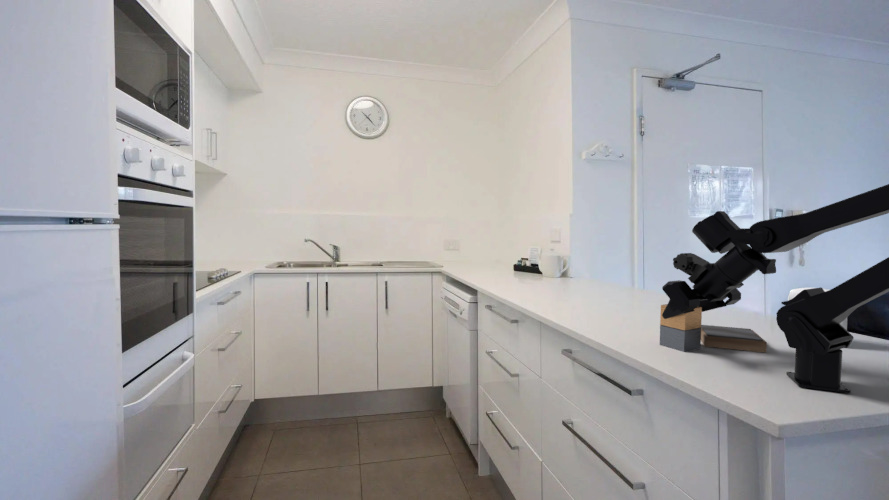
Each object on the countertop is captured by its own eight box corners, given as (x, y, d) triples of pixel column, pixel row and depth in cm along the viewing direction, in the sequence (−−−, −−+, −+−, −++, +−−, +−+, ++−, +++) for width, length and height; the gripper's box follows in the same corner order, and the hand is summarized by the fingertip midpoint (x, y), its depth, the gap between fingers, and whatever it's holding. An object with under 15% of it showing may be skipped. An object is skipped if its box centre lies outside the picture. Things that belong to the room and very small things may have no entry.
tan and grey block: (700, 348, 88) (701, 307, 88) (684, 352, 86) (685, 309, 85) (675, 341, 93) (677, 302, 93) (659, 345, 91) (660, 305, 90)
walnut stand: (766, 352, 85) (766, 340, 85) (704, 346, 90) (705, 334, 90) (752, 339, 95) (752, 328, 95) (697, 334, 100) (697, 323, 100)
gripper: (728, 240, 89) (677, 283, 99) (672, 241, 81) (624, 289, 91) (768, 280, 82) (709, 322, 93) (712, 286, 74) (655, 332, 85)
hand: (674, 315), depth 91 cm, fingers open, 7 cm apart
